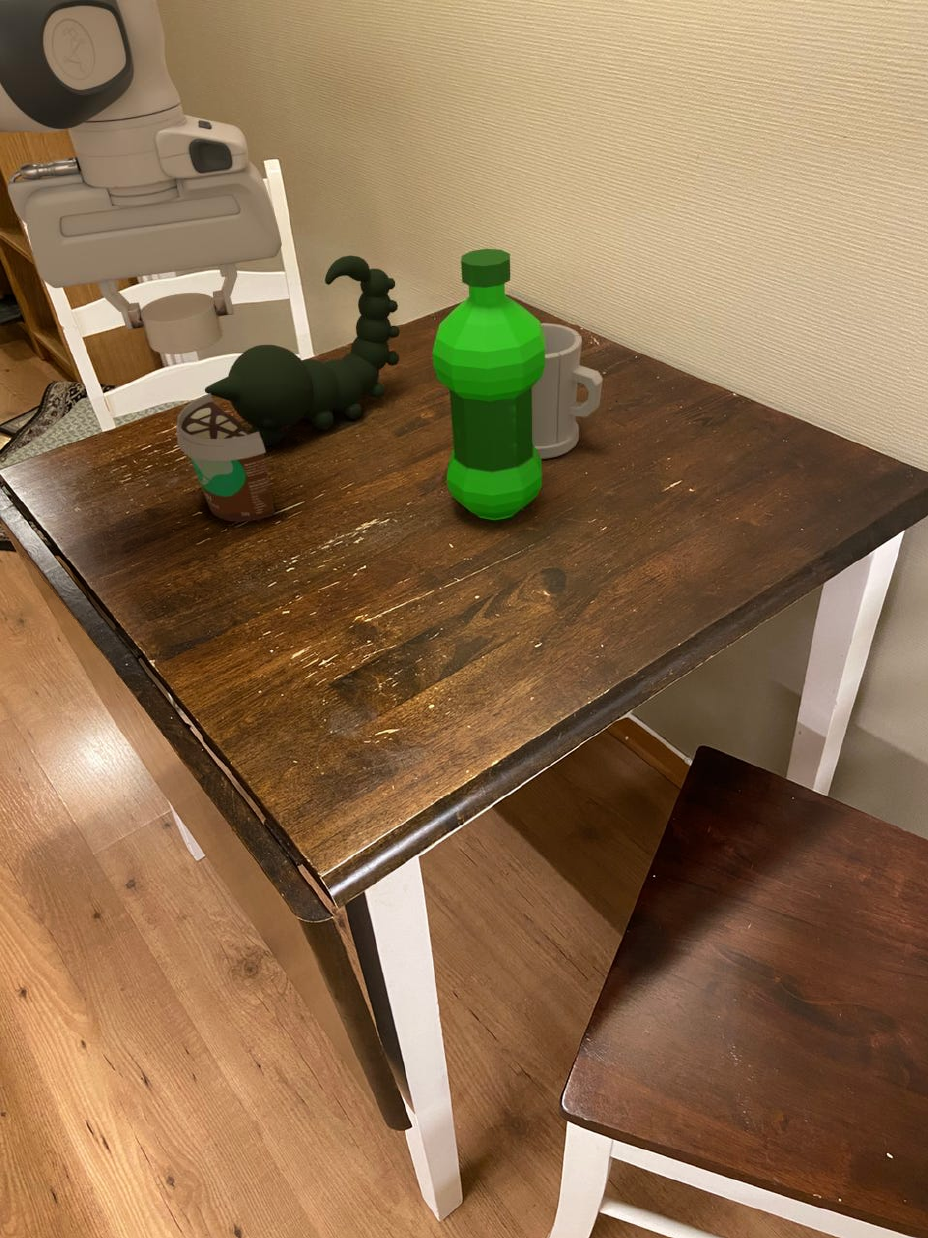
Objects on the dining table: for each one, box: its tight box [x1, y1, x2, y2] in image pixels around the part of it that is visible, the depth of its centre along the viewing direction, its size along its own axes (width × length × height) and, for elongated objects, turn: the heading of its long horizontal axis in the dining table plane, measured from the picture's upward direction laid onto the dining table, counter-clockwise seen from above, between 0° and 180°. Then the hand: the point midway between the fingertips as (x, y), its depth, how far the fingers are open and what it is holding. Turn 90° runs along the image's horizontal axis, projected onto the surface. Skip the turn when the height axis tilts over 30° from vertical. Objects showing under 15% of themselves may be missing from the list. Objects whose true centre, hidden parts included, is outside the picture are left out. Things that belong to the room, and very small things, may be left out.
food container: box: [176, 393, 276, 522], centre depth 90 cm, size 12×6×10 cm, turn 37°
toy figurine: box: [204, 255, 401, 446], centre depth 101 cm, size 9×19×25 cm
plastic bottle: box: [431, 248, 545, 521], centre depth 83 cm, size 10×10×25 cm
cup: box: [532, 322, 604, 460], centre depth 96 cm, size 10×9×12 cm
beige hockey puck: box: [140, 292, 224, 355], centre depth 79 cm, size 7×7×3 cm
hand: (181, 319), depth 79 cm, fingers closed on beige hockey puck, 6 cm apart
